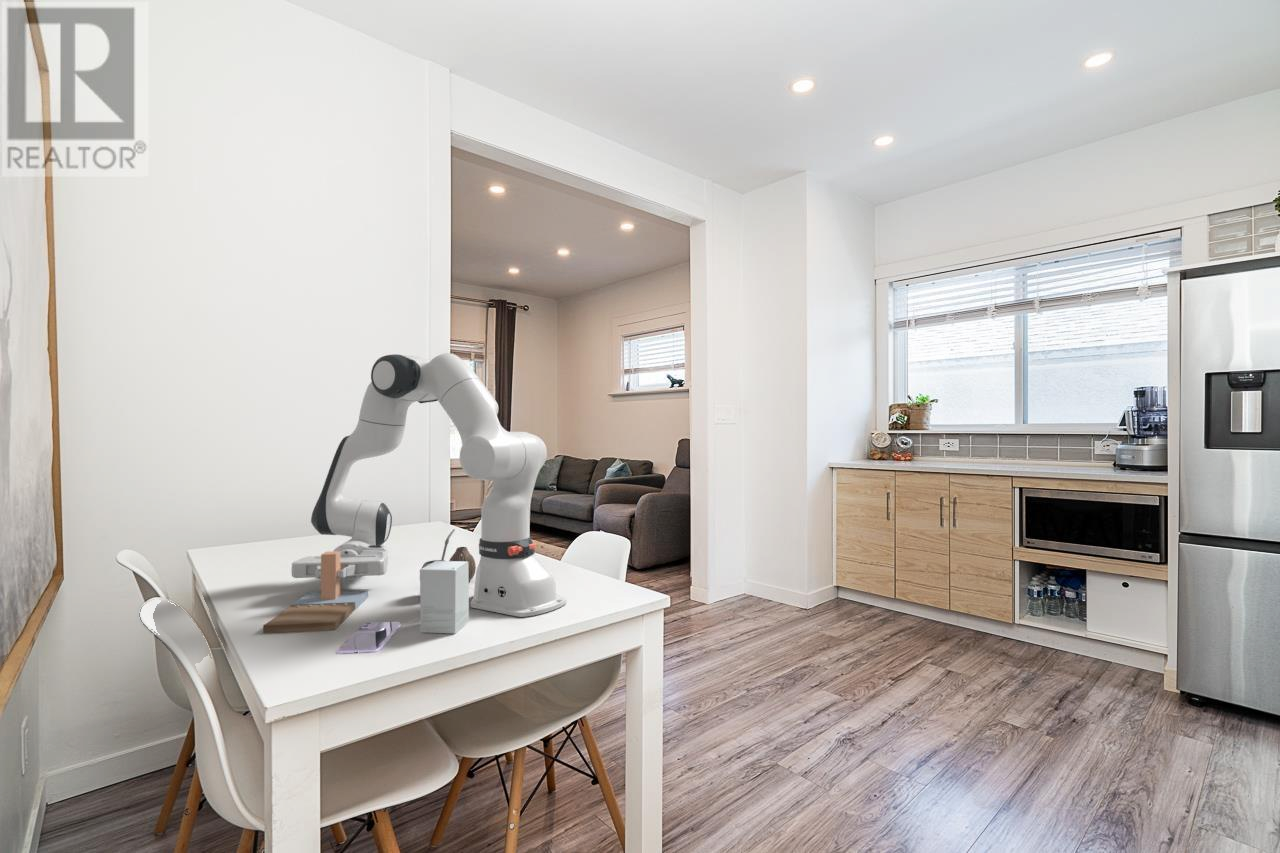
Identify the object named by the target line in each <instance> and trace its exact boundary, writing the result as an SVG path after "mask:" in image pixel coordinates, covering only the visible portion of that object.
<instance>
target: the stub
mask: <svg viewBox="0 0 1280 853" xmlns="http://www.w3.org/2000/svg"><path fill="white" fill-rule="evenodd" d="M320 556H321V579H320V587H321V588H320V591H312V592H307V593H305V594H304V595H302V597H300V598H298V599H297V600H295V601H294V602H292V603H291V604H290V606H297V605H300V606H304V605H321V604H323V605H330V604H345V603H347V604H355V610H356V609H357V608H358V607H359V606H360V605H361V604H362V603H364V601H365V600H366V599H367V598H368V597H369V593H368V592H369V590H342V591H341V578H337V570H338V569H340V551H334V550H333V551H332V550H331V551H324V552H323V553H321V555H320Z"/></svg>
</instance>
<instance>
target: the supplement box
mask: <svg viewBox="0 0 1280 853" xmlns="http://www.w3.org/2000/svg"><path fill="white" fill-rule="evenodd" d="M421 568H422V567H421ZM421 568H420V569H419V586H420V587H419V588H420V589H419V595H420V596H419V598H420V599H419V602H420V604H419V605H420V606H419V608H420V611H419V612H420V614H419V616H420V617H419V619H420V624H419V626H420V634H421V633H422V634H423V633H429V634H456V633H458V632H459V631H460V630H462V628H464V626H466V625H467V624H468V623H469V622H470V615H469V614H470V604H469V601H470V597H469V595H470V594H469V592H470V591H469V584H470V583H469V582H470V581H469V572H468V571H469V570H468V561H449V560H444V561H435V562H433V563H431V564H429V565H427V566H425V567H424V568H422V569H421ZM466 623H467V624H466ZM465 624H466V625H465Z"/></svg>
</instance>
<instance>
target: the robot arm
mask: <svg viewBox="0 0 1280 853" xmlns="http://www.w3.org/2000/svg"><path fill="white" fill-rule="evenodd" d="M370 379H371V380H370V381H371V382H369V384H368V386H367V388H366V391H365V393H364V395H363V399H362V402H361V407H360V411H359V415H358V422H357V425H356V427H355V428H354V430H353V431H352V433H350V434H349V435H347V436H344V437H343V438H342V439H341V441H340V443H339V444H338V445H337V449H336V451H335V453H334V457H333V458H332V461H331V464H330V467H329V470H328V472H327V475H326V478H325V480H324V484H323V485H322V486H323V487H322V490H321V492H320V494H319V497H318V498H317V501H316V503H315V505H314V508H313V509H312V513H311V518H310V523H311V524H312V526H313V528H314V529H315V530H316V531H317V532H318V533H319V534H320V535H322V536H323V535H325V536H326V535H327V536H342V537H350V538H351V539H348V540H347V541H345V542H344V543H342V544H340V545H338V546H336V548H334V549H333V551H340V569H338V570H337V578H340V580H341V579H342V580H345V581H346V580H353V579H356V578H362V577H366V576H368V577H369V576H383V575H385V574H386V573H387V572H388V564H389V563H388V562H389V560H388V558H389V556H388V548H387V546H385V542H387V540H388V539H389V536H390V533H391V530H392V524H393V523H392V522H393V517H392V514H391V511H390V509H389V508H388V506H387V505H386V503H384V502H381V501H379V502H378V501H373V500H365V499H364V500H363V499H357V498H351V497H345V496H344V495H343V493H342V492H343V489H344V487H345V484H346V482H347V479H348V476H349V473H350V470H351V468H352V466H353V465H354V463H356V462H358V461H361V460H366V459H370V458H374V457H380V456H383V455H387V454H389V453H392V452H393V451H395V449H397V448H398V447H399V446H400V444H401V443H402V440H403V437H404V432H405V429H406V421H407V414H408V410H409V407H410V406H411V405H412V404H414V403H415V402H418V403H419V404H426V403H433V402H439V405H441V407H442V409H443V410H444V411H445V412H446V414H447V415H448V418H449V419H450V420H451V422H452V423H453V425H454V426H455V428H456V430H457V432H458V433H459V436H460V440H461V443H462V446H461V448H460V451H459V463H460V467H461V468H462V470H463V472H464V473H465V474H466V476H468V477H469V478H473V479H475V480H480V481H486V482H493V483H492V485H491V486H492V487H491V488H490V491H489V493H488V495H487V497H486V498H485V499H484V500H483V502H482V505H481V510H480V512H481V518H480V519H481V522H480V524H481V527H480V528H481V529H480V530H481V534H480V536H481V537H480V538H479V540H478V554H479V555H480V559H479V563H478V565H477V568H476V569H475V579H474V580H475V582H474V593H473V599H472V600H470V604H469V608H473V609H478V610H483V611H489V612H492V613H493V612H495V613H498V614H503V615H509V616H513V617H518V618H519V617H520V618H524V617H530V616H538V615H541V614H545V613H548V612H551V611H554V610H556V609H559V608H561V607H563V606H565V605H566V604H567V598H566V597H565V596H563V595H560V594H558V593H557V588H556V587H557V586H556V580H555V576H554V575H553V574H552V572H551V571H550V570H549V569H548V568H547V567H546V566H545V564H543V563H542V562H541V560H540V559H539V558H538V556H536V554H535V553H536V551H535V549H538V546H537V545H538V542H535V543H533V539H532V536H530V533H531V532H530V531H531V530H530V525H531V522H530V520H531V502H532V496H533V493H534V489H535V485H536V482H537V478H538V475H539V473H540V471H541V469H542V467H543V466H544V465H545V464H546V460H547V456H548V452H547V451H548V450H547V445H546V444H545V442H544V440H542V439H541V437H539V436H538V435H535V434H533V433H529V432H527V431H508V430H506V429H505V428H504V427H503V426H502V425H501V422H500V420H499V417H498V414H499V409H500V408H499V404H498V402H497V400H496V399H495V398H494V396H493V395H492V393H491V392H490V391H489V390H488V388H487V387H486V385H485V384H484V383H483V382H482V380H481V379H480V378H479V376H478V375H477V374H476V373H475V371H474V370H473V369H472V368H471V367H470V366H469V365H468V364H467V363H466V362H465V361H464V360H463V359H461V357H459V356H458V355H457V354H453V353H448V352H446V353H441V354H439V355H436V356H434V357H433V358H432V359H427V358H424V357H420V356H414V355H402V354H394V353H393V354H388V355H383V356H381V357H379V358H377V359H376V360H375V362H374V364H373V366H372V368H371V371H370ZM290 571H291V572H290V573H291V576H292V577H293V579H307V578H309V579H310V578H312V579H313V578H315V579H316V580H317V579H320V580H321V555H311V556H305V557H302V558H300V559H297V560H295V561H293V562H292V563H291V570H290Z"/></svg>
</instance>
